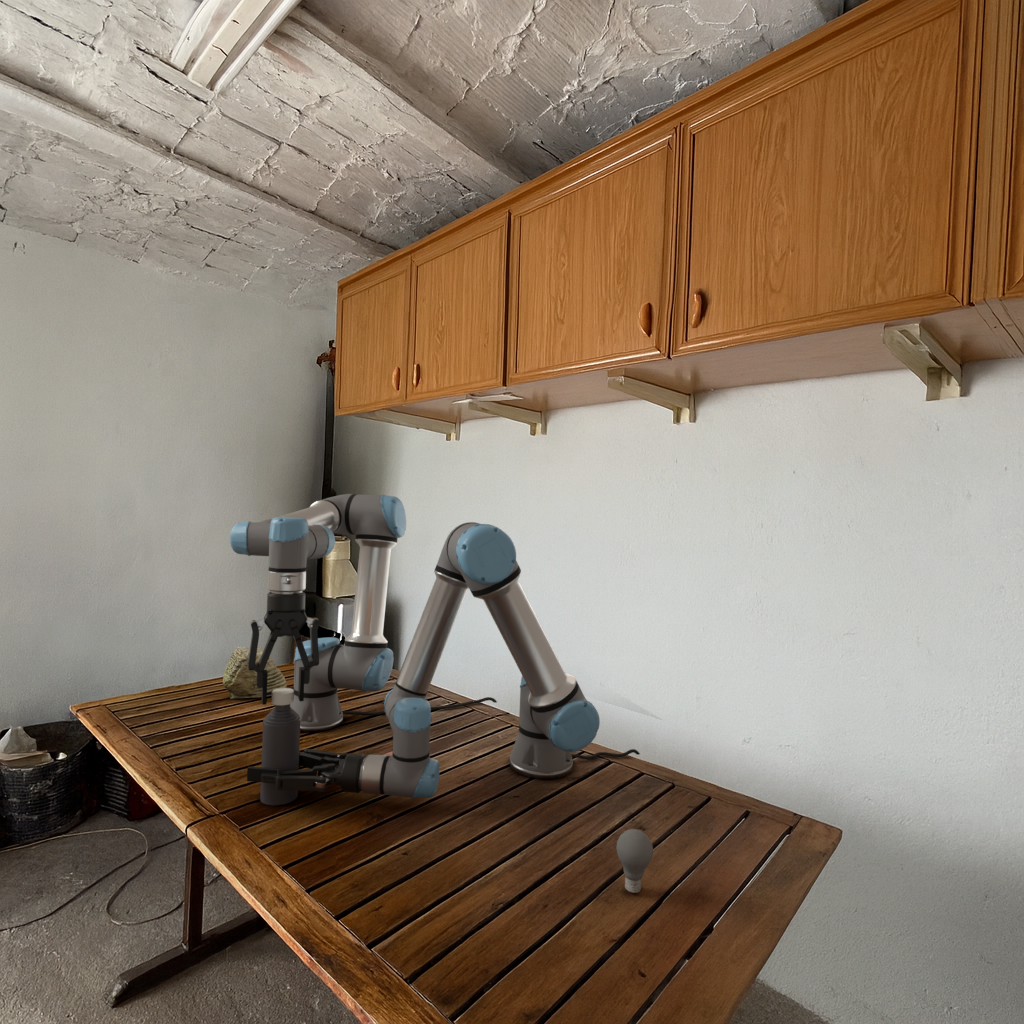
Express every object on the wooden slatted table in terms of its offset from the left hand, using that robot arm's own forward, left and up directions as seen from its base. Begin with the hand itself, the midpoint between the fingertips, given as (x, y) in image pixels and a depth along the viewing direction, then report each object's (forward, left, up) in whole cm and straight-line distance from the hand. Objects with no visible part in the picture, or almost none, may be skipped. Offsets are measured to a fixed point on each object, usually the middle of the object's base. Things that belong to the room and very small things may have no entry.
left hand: (282, 700), depth 132 cm
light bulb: (-22, +71, -20) cm, 77 cm away
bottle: (0, 0, -20) cm, 20 cm away
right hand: (+3, -4, -14) cm, 15 cm away
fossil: (-31, -66, -20) cm, 75 cm away
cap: (0, 0, +2) cm, 2 cm away
